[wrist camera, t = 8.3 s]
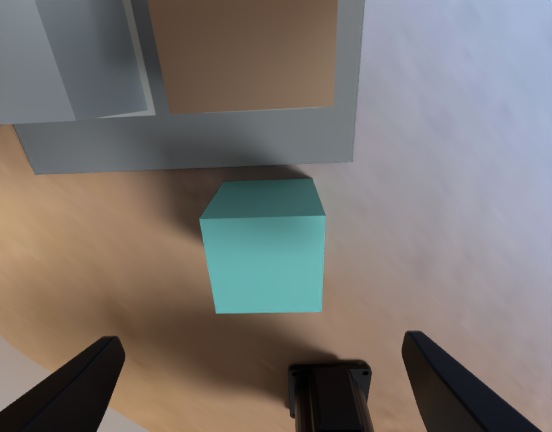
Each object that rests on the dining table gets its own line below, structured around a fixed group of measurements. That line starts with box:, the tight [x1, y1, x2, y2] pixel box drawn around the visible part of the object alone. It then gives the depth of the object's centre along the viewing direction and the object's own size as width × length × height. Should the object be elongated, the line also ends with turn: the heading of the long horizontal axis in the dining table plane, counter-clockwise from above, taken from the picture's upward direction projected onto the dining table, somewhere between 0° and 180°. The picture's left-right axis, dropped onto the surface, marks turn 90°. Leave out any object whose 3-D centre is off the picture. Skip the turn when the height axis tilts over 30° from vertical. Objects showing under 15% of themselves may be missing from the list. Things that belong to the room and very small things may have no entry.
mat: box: [13, 0, 365, 175], centre depth 12 cm, size 10×17×1 cm, turn 93°
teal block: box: [199, 178, 325, 314], centre depth 14 cm, size 5×5×5 cm
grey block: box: [0, 0, 148, 125], centre depth 10 cm, size 5×5×5 cm
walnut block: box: [147, 0, 338, 114], centre depth 9 cm, size 5×5×5 cm
